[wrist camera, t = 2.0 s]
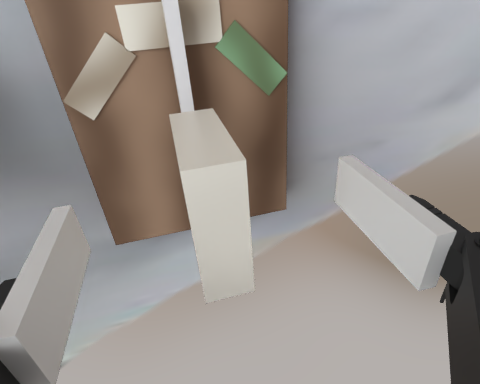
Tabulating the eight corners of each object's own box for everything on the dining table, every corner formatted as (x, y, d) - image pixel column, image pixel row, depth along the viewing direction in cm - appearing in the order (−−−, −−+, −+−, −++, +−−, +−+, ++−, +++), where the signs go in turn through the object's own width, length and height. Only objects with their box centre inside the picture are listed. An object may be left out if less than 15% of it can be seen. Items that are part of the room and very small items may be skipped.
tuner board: (118, 227, 28) (115, 246, 25) (-69, -301, 13) (-114, -366, 11) (276, 195, 30) (287, 210, 28) (272, -273, 15) (292, -322, 13)
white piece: (183, 186, 24) (205, 303, 14) (145, -4, 17) (142, -20, 8) (213, 180, 24) (254, 291, 15) (188, -7, 18) (233, -27, 8)
